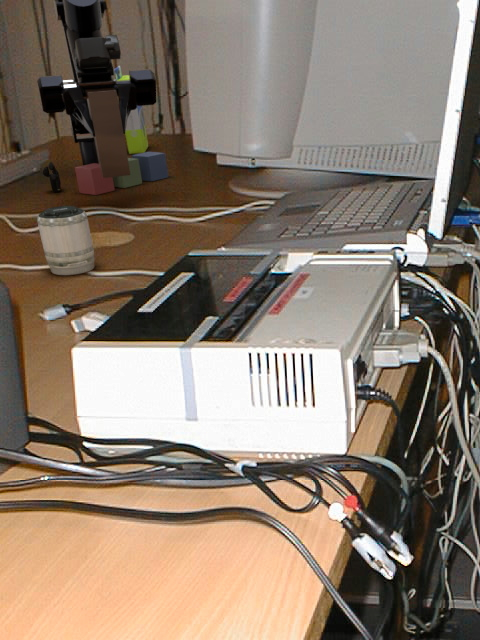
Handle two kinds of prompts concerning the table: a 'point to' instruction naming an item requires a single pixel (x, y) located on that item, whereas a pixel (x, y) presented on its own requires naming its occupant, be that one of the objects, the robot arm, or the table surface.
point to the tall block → (108, 132)
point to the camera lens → (66, 240)
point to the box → (134, 124)
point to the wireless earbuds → (53, 177)
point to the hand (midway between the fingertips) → (108, 133)
